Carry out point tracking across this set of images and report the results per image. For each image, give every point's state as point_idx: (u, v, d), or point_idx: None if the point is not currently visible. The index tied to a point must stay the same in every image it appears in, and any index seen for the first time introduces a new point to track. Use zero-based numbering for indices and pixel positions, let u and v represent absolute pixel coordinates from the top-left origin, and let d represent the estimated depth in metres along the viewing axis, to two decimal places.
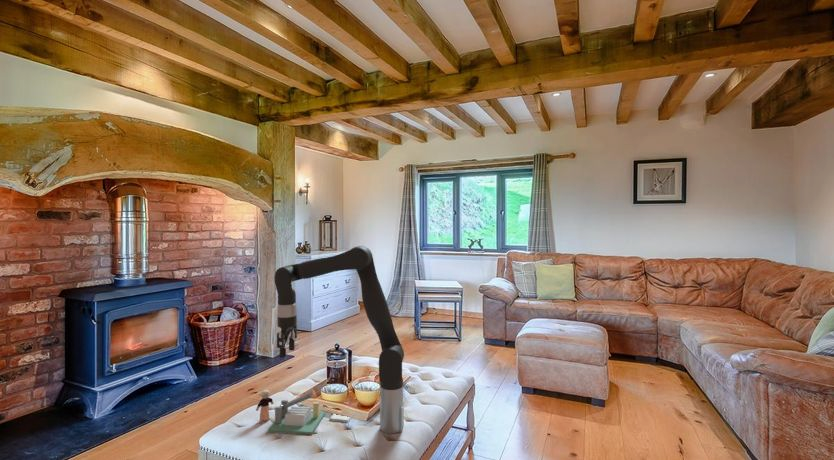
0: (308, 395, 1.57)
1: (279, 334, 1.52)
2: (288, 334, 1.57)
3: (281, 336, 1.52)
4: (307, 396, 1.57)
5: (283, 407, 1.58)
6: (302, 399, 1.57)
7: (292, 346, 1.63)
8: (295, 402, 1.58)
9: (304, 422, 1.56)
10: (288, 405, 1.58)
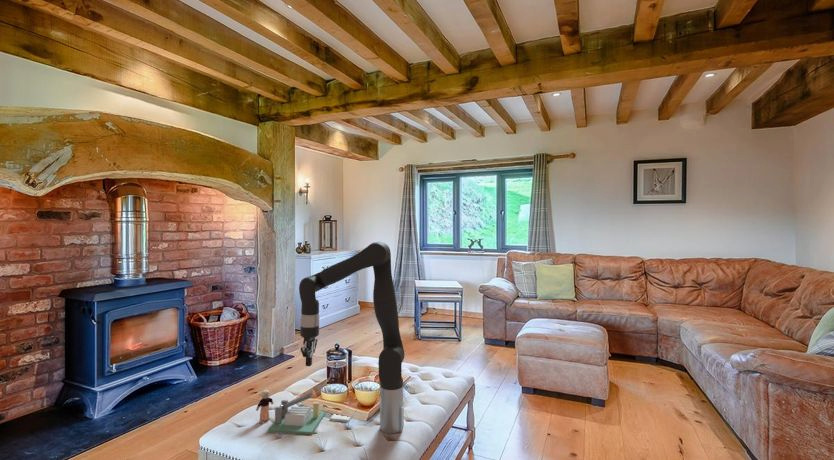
0: (308, 395, 1.57)
1: (302, 350, 1.54)
2: (311, 345, 1.58)
3: (305, 351, 1.55)
4: (307, 396, 1.57)
5: (283, 407, 1.58)
6: (302, 399, 1.57)
7: None
8: (295, 402, 1.58)
9: (304, 422, 1.56)
10: (288, 405, 1.58)
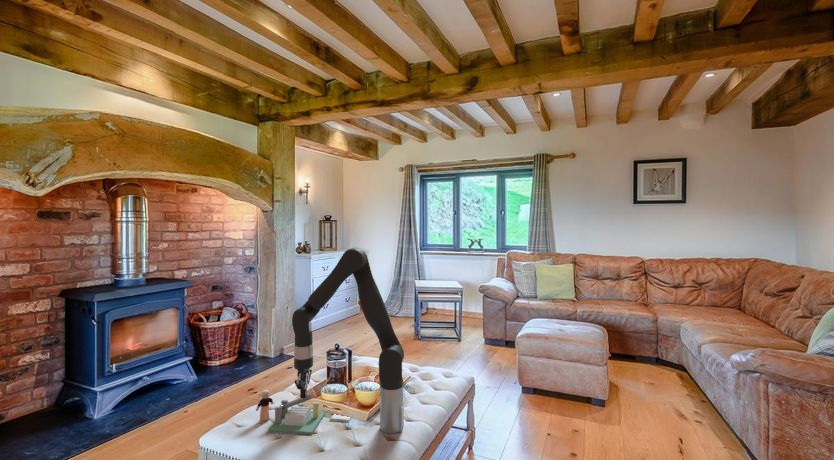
0: (309, 396, 1.57)
1: (297, 382, 1.53)
2: (305, 377, 1.57)
3: (299, 384, 1.53)
4: (308, 397, 1.57)
5: (283, 407, 1.58)
6: (302, 400, 1.57)
7: None
8: (295, 403, 1.58)
9: (304, 422, 1.56)
10: (288, 405, 1.58)
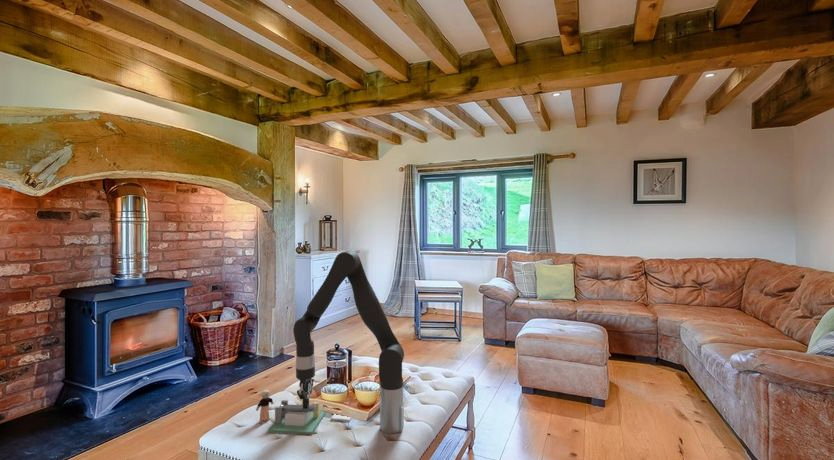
0: (312, 408, 1.57)
1: (299, 393, 1.53)
2: (307, 387, 1.57)
3: (301, 394, 1.53)
4: (310, 409, 1.57)
5: (283, 409, 1.58)
6: (304, 409, 1.57)
7: None
8: (297, 409, 1.58)
9: (304, 422, 1.56)
10: (289, 409, 1.58)
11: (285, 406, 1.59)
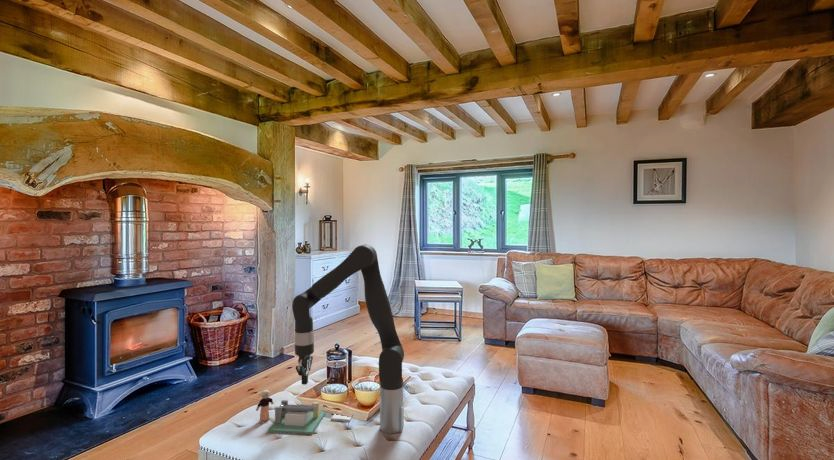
0: (312, 408, 1.57)
1: (298, 368, 1.52)
2: (306, 363, 1.56)
3: (300, 370, 1.53)
4: (310, 409, 1.57)
5: (283, 409, 1.58)
6: (304, 409, 1.57)
7: None
8: (297, 409, 1.58)
9: (304, 422, 1.56)
10: (289, 409, 1.58)
11: (285, 406, 1.59)
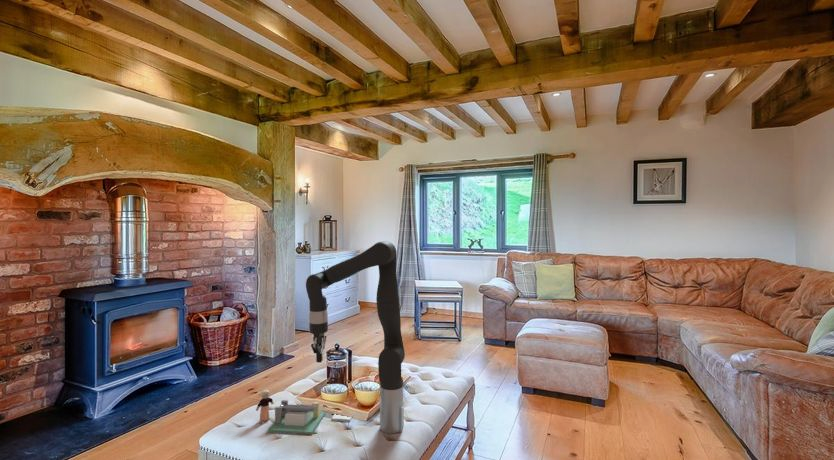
0: (312, 408, 1.57)
1: (313, 346, 1.56)
2: (321, 341, 1.60)
3: (316, 347, 1.57)
4: (310, 409, 1.57)
5: (283, 409, 1.58)
6: (304, 409, 1.57)
7: None
8: (297, 409, 1.58)
9: (304, 422, 1.56)
10: (289, 409, 1.58)
11: (285, 406, 1.59)
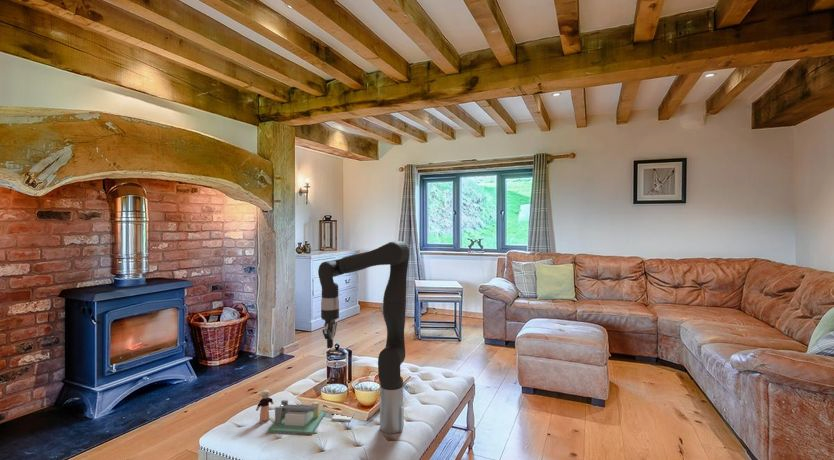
0: (312, 408, 1.57)
1: (324, 331, 1.59)
2: (332, 327, 1.63)
3: (327, 333, 1.60)
4: (310, 409, 1.57)
5: (283, 409, 1.58)
6: (304, 409, 1.57)
7: None
8: (297, 409, 1.58)
9: (304, 422, 1.56)
10: (289, 409, 1.58)
11: (285, 406, 1.59)
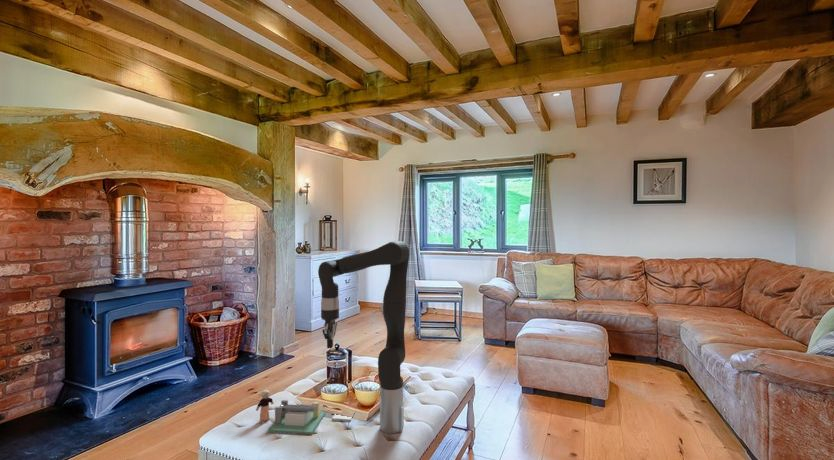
0: (312, 408, 1.57)
1: (324, 331, 1.59)
2: (332, 327, 1.63)
3: (327, 333, 1.60)
4: (310, 409, 1.57)
5: (283, 409, 1.58)
6: (304, 409, 1.57)
7: None
8: (297, 409, 1.58)
9: (304, 422, 1.56)
10: (289, 409, 1.58)
11: (285, 406, 1.59)
